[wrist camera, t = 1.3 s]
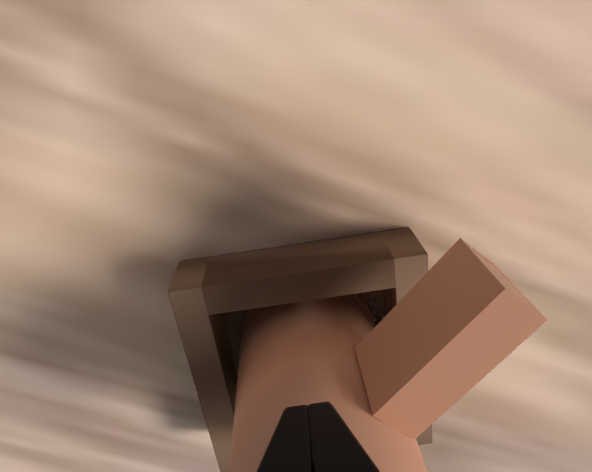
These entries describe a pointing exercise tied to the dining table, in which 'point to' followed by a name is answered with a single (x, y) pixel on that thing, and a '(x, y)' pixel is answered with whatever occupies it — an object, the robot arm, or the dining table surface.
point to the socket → (278, 302)
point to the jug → (379, 358)
